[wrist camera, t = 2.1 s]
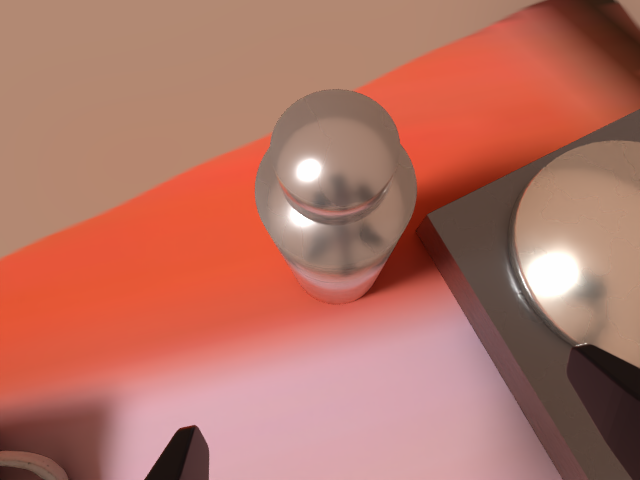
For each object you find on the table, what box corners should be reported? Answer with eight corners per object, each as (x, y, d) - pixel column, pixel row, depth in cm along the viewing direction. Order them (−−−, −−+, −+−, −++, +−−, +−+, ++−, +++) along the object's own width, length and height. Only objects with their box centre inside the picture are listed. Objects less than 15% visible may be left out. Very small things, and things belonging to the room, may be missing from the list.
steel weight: (394, 280, 22) (477, 185, 9) (316, 319, 22) (285, 280, 9) (354, 207, 23) (375, 32, 10) (279, 243, 23) (204, 108, 10)
